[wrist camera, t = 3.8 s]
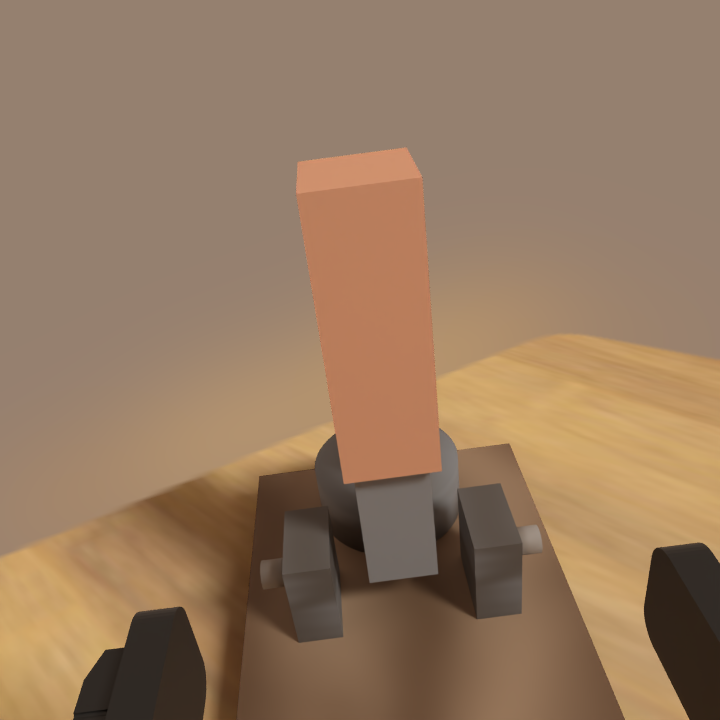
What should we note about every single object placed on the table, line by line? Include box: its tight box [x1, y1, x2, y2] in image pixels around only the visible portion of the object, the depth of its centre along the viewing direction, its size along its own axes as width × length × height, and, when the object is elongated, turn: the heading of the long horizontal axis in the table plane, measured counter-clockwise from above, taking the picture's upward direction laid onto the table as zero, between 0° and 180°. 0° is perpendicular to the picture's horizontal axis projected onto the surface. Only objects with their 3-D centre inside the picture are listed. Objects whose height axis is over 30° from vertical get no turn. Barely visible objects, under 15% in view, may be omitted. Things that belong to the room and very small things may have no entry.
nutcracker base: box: [237, 428, 625, 720], centre depth 25 cm, size 12×14×8 cm
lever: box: [296, 148, 442, 583], centre depth 21 cm, size 3×3×14 cm
